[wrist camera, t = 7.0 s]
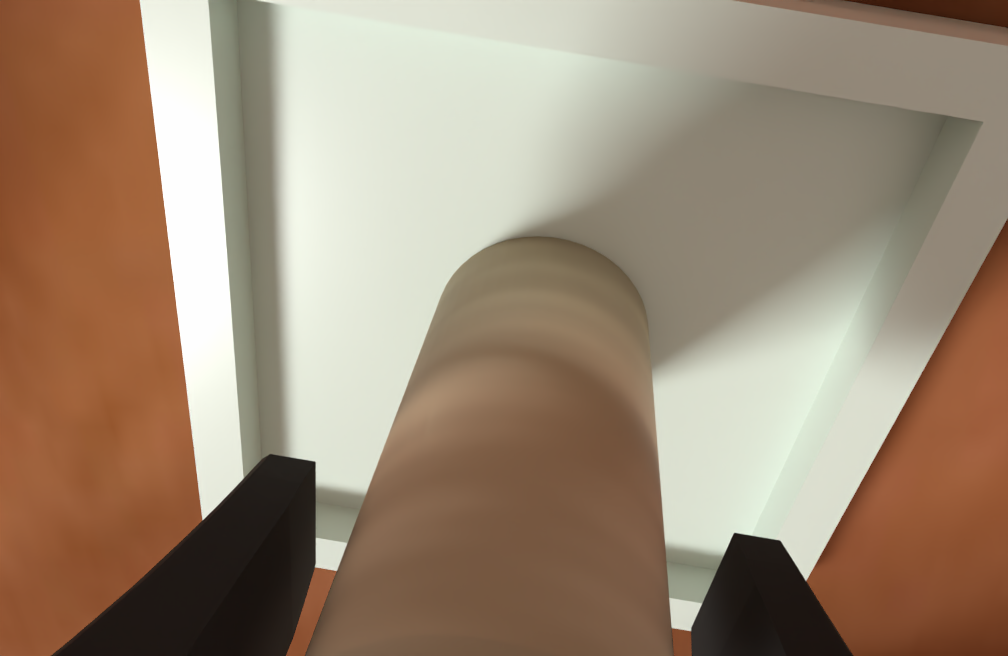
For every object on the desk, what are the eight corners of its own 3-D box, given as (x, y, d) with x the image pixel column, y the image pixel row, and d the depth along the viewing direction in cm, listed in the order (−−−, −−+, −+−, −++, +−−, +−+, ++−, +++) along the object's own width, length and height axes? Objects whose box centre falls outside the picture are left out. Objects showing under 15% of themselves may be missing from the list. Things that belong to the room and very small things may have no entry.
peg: (433, 400, 16) (297, 823, 9) (440, 222, 13) (267, 602, 7) (628, 428, 15) (641, 882, 9) (667, 251, 13) (727, 676, 6)
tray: (236, 491, 19) (205, 548, 17) (188, -109, 12) (127, -101, 10) (756, 579, 19) (770, 644, 17) (1029, 31, 12) (1095, 60, 10)
